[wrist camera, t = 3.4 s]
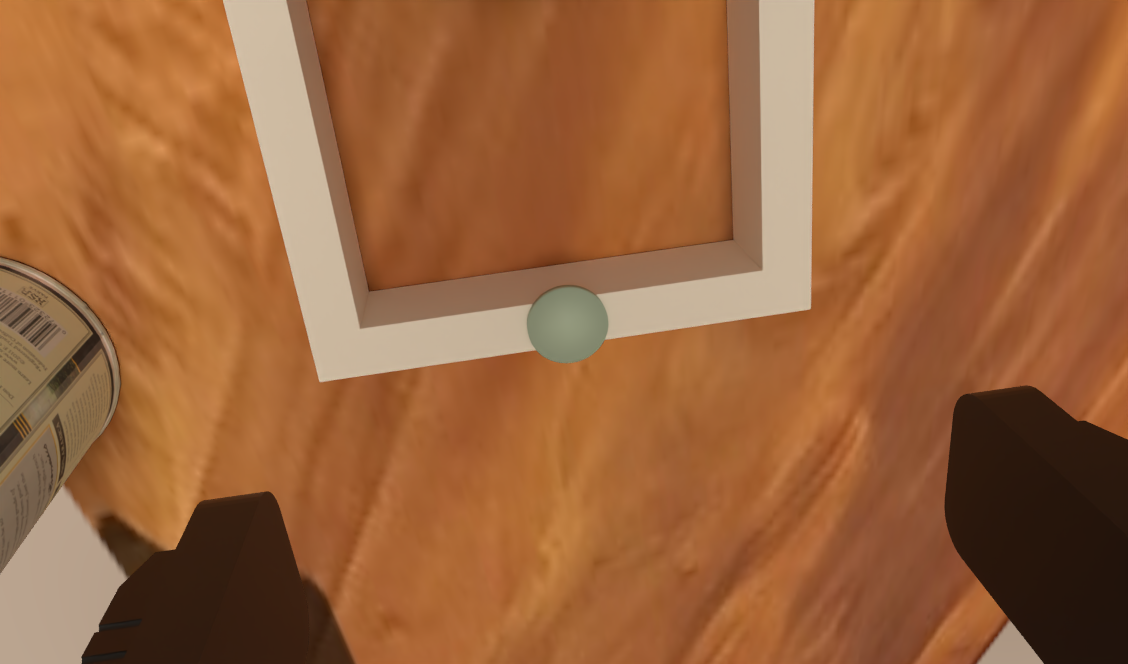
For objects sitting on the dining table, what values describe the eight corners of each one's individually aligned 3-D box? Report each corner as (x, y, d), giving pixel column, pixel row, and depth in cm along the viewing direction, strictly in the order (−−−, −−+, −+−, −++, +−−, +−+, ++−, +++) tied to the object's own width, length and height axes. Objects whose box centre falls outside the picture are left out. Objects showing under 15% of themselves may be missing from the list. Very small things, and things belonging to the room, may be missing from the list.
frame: (775, -183, 32) (821, -202, 28) (777, 287, 40) (814, 326, 36) (220, -122, 31) (186, -132, 27) (335, 352, 38) (321, 400, 34)
